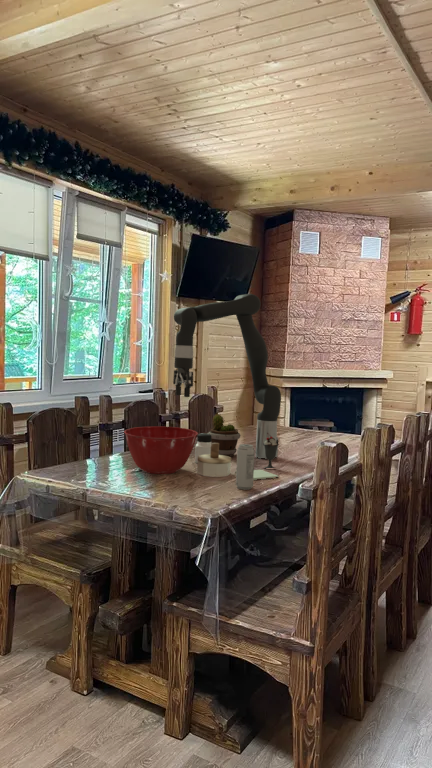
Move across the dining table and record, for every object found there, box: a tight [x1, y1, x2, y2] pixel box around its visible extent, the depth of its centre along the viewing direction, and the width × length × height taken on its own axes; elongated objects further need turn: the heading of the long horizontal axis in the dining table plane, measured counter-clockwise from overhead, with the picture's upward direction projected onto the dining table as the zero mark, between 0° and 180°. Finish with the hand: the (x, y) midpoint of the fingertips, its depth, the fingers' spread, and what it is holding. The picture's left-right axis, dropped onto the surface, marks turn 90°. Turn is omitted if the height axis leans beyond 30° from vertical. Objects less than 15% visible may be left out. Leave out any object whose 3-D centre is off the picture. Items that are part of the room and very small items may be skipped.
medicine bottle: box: [194, 432, 212, 464], centre depth 236 cm, size 7×7×12 cm
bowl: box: [196, 461, 232, 478], centre depth 214 cm, size 12×12×5 cm
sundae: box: [263, 433, 280, 468], centre depth 227 cm, size 7×7×15 cm
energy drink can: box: [235, 443, 256, 491], centre depth 192 cm, size 6×6×15 cm
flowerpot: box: [207, 413, 242, 457], centre depth 253 cm, size 14×15×20 cm
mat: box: [235, 469, 280, 481], centre depth 213 cm, size 12×12×1 cm
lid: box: [198, 443, 232, 464], centre depth 213 cm, size 13×13×7 cm
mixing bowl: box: [123, 425, 199, 475], centre depth 214 cm, size 28×28×16 cm
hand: (182, 396), depth 227 cm, fingers open, 8 cm apart
